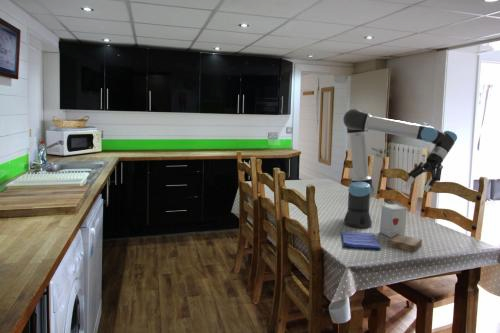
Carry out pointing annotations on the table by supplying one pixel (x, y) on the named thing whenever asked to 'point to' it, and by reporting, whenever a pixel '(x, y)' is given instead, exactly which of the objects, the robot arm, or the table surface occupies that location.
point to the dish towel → (359, 240)
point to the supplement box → (393, 220)
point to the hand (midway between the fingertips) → (415, 188)
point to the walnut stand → (405, 242)
